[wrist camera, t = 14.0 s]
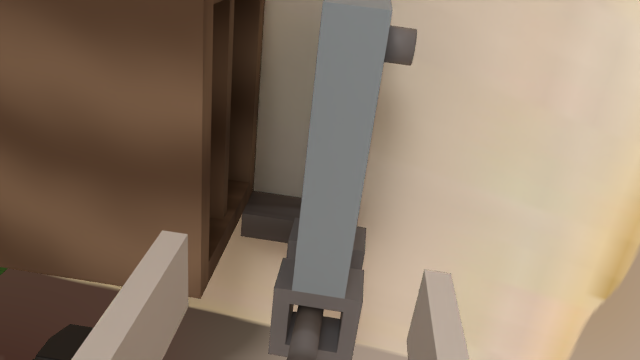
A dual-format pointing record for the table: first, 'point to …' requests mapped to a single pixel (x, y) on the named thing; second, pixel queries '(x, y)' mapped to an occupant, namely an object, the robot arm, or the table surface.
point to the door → (337, 174)
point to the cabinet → (133, 138)
